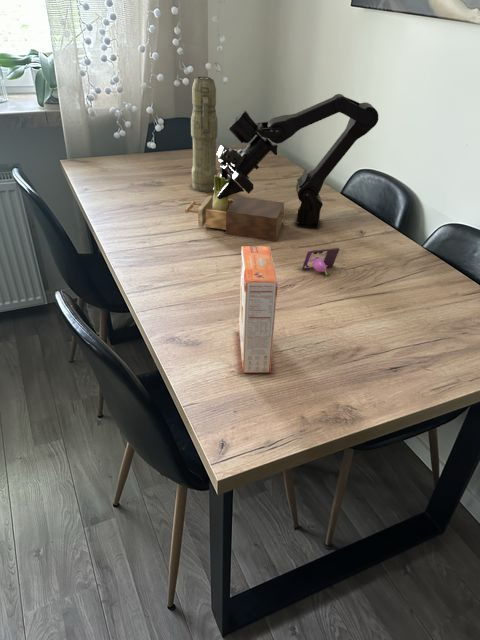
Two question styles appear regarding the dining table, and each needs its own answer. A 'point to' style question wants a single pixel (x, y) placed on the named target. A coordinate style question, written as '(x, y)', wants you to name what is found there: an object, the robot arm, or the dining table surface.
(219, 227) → the drawer
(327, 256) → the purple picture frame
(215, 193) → the fennel bulb
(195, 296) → the dining table surface
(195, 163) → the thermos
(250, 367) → the cracker box
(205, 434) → the dining table surface
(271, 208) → the cabinet
